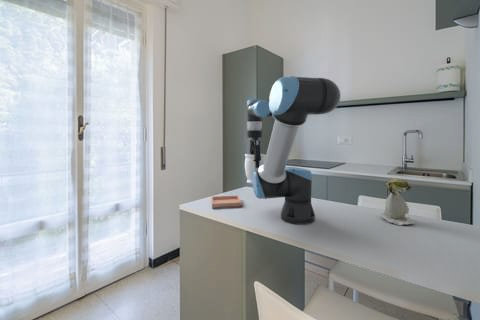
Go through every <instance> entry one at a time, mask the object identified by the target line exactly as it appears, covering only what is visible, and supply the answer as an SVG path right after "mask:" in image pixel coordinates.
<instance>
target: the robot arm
mask: <svg viewBox="0 0 480 320" xmlns="http://www.w3.org/2000/svg"><path fill="white" fill-rule="evenodd" d="M340 101H341V91H340V88H339V87H338V85H337V84H336V82H334V81H333V80H331V79H329V78H325V77H307V76H306V77H301V76H294V75H293V76H283V77H282V76H281V77H280V78H278V79H277V80H275V82H274V84H272V87H271V90H270V92H269V100H265V99H259V98H251V99H248V100H247V103H246V105H247V106H246V111H247V112H246V114H247V115H246V116H247V117H246V120H247V122H246V128H247V131H246V133H247V138H250V140H249V152H248V154H251V155H254V158H255V160H253V161H254V172H253V174H252V183H251V184H252V188H253V193H254V195H255V197H256V198H257V199H260V200H261V199H263V200H266V199H267V200H268V199H278V198H284V203H283V204H282V208H281V211H280V219H281V220H282V221H284V222H285V223H289V224H292V225H293V224H294V225H307V224H312V223H314V222H315V221H316V214H315V211H314V208H313V205H312V190H313V189H312V188H313V187H312V184H313V183H312V182H313V179H312V178H313V176H312V171H311V170H310V169H307V168H303V167H302V168H301V167H295V166H287V163H288V160H289V156H290V155H291V151H292V149H293V146H294V142H295V139H296V137H297V133H298V130H299V128H300V126H302V125H304V124H305V123H306V121H307V118H308V116H309V115H314V116H315V115H324V114H325V115H326V114H329V113H331V112H333V111H334V110H335V109H336V108H337V107H338V105H339V103H340ZM263 118H273V119H274V122H273V127H272V131H271V135H270V137H269V138H270V139H269V142H268V143H269V144H268V146H267V150H266V154H265V157H264V161H265V162H264V164H263V165H261V166H260V160H261V154H262V153H261V141H260V140H259V138H262V137H263V130H262V129H263V127H262V126H263V124H264V123H263V121H262V119H263Z"/></svg>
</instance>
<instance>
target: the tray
mask: <svg viewBox="0 0 480 320" xmlns="http://www.w3.org/2000/svg"><path fill="white" fill-rule="evenodd" d="M210 200H211V201H210V202H211V209H212V210H213V209H228V208H230V209H231V208H242V207H243V202H242V200H241V198H240V196H239V195H238V194H237V195H236V194H235V195H219V196H218V195H217V196H210Z"/></svg>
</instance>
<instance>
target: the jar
mask: <svg viewBox="0 0 480 320" xmlns="http://www.w3.org/2000/svg"><path fill="white" fill-rule="evenodd" d="M260 154H261V160H260V166H261V165H263V164H264V162H265V157H266V154H265V153H260ZM244 157H245V159H244V171H245V176H246V178H247V180H246V183H248V184H252V174H253V172H254V161H253V160H255V158H254V155H251V154H249V153H245V154H244Z"/></svg>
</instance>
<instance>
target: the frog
mask: <svg viewBox="0 0 480 320" xmlns="http://www.w3.org/2000/svg"><path fill="white" fill-rule="evenodd" d="M385 187H386V188H388V190H387V191H388V192H389V195H388V196H387V197H386V201H385V204H384V205H385V206H384V212H380V217H381V218H382V219H385V221H386V222H387V223H390V224H391V223H393V224H395V225H396V226H398V225H399V226H400V227H401V226H403V225H413V224H414V225H415V224H416V223H415V221H412V220H411V218H410V216H408V215H407V214H409V212H410V208H409V205H408V204H407V202H406V201H405V199H404V196H403V195H402V193H404V192H409V191H411V190H412V189H413V187H412V186H410V185H409V182H408V181H406V180H404V179H399V178H397V179H396V178H393V179H391V180H389V181H388V182H386V183H385Z"/></svg>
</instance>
